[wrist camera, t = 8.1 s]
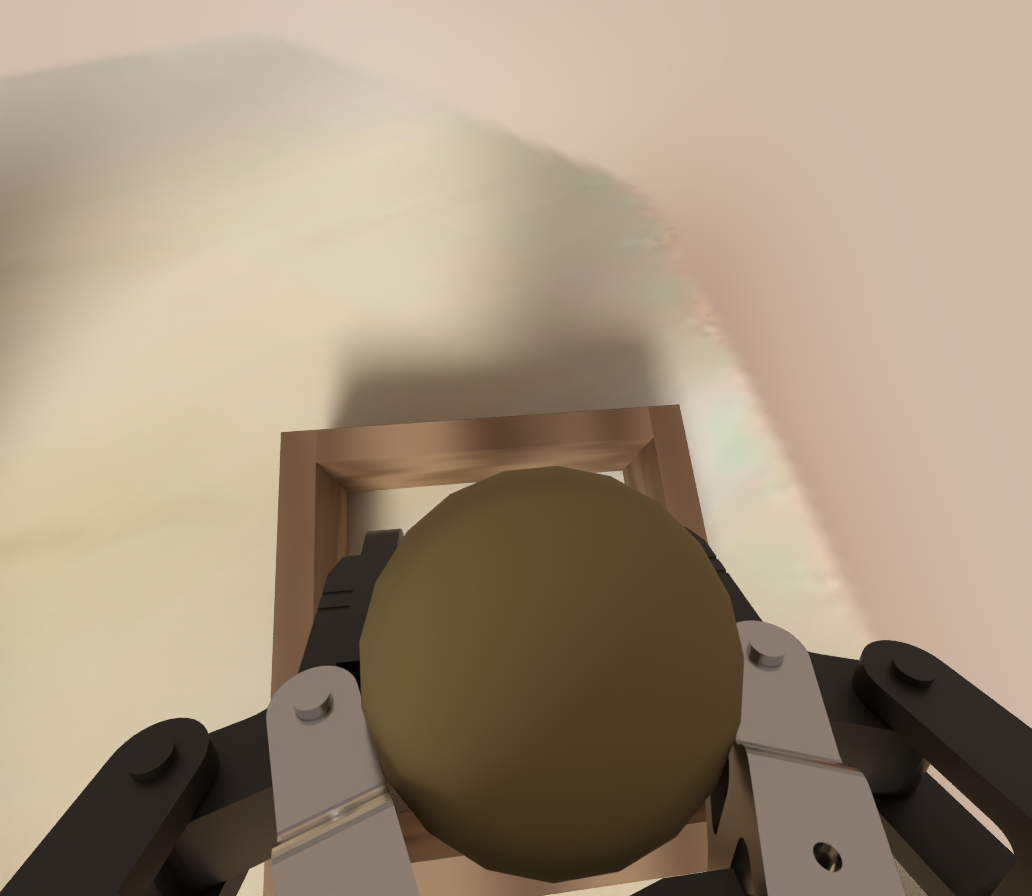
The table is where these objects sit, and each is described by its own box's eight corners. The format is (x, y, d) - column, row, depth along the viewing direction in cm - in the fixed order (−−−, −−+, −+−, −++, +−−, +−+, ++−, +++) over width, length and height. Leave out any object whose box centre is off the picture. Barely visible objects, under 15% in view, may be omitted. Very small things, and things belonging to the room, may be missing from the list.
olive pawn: (497, 498, 18) (519, 319, 7) (647, 616, 17) (920, 607, 6) (371, 652, 16) (162, 710, 6) (531, 792, 15) (640, 1177, 5)
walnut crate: (312, 863, 25) (261, 937, 19) (318, 467, 30) (281, 432, 25) (710, 809, 26) (773, 861, 21) (644, 442, 32) (679, 404, 26)
